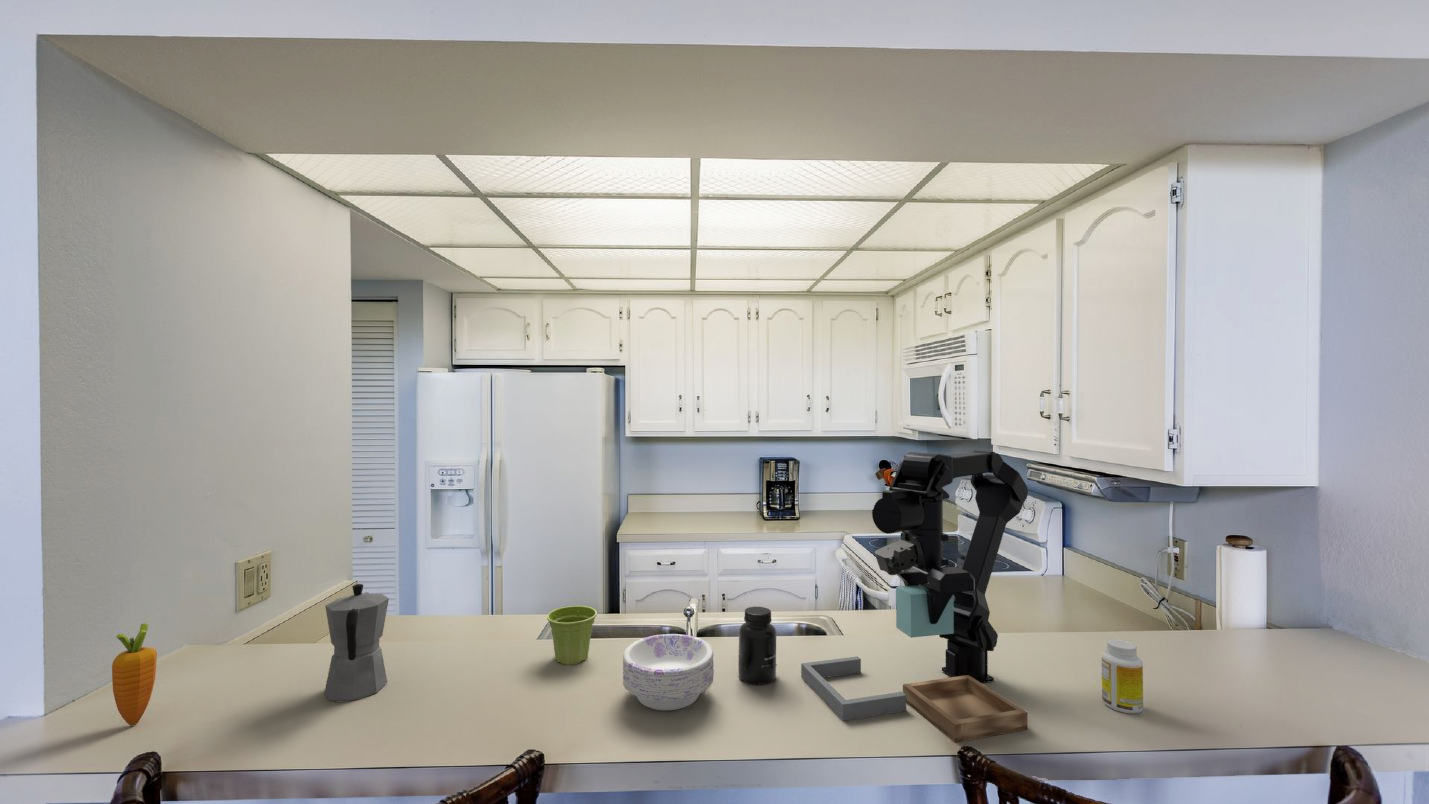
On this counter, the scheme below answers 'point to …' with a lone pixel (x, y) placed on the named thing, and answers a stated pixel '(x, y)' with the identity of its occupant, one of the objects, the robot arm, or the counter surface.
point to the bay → (851, 707)
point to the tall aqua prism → (920, 613)
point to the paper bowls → (668, 670)
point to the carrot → (133, 676)
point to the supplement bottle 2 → (1122, 677)
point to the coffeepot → (356, 645)
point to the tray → (965, 708)
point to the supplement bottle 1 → (757, 647)
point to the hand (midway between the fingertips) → (924, 618)
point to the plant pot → (571, 632)
